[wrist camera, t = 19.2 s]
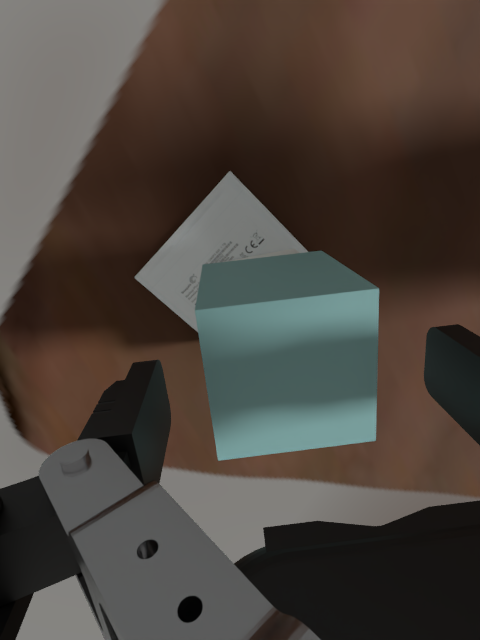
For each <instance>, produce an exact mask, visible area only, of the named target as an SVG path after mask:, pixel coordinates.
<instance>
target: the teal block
mask: <svg viewBox="0 0 480 640" xmlns="http://www.w3.org/2000/svg"><path fill="white" fill-rule="evenodd" d="M195 315H196V321H197V328H198V334H199V341H200V347H201V353H202V360H203V366H204V373H205V379H206V385H207V392H208V398H209V405H210V411H211V417H212V424H213V430H214V437H215V443H216V449H217V456H218V461H219V460H227V459H235V458H243V457H251V456H259V455H267V454H274V453H282V452H290V451H298V450H306V449H314V448H322V447H330V446H338V445H346V444H354V443H362V442H370V441H376V408H377V363H378V317H379V288H378V287H376V286H375V285H373V284H372V283H370V282H369V281H367V280H366V279H364V278H363V277H361V276H360V275H358V274H356V273H355V272H353V271H352V270H350V269H349V268H347V267H346V266H344V265H343V264H341V263H340V262H338V261H337V260H335V259H334V258H332V257H331V256H329V255H328V254H326V253H324V252H323V251H314V252H305V253H296V254H288V255H279V256H271V257H262V258H254V259H245V260H237V261H228V262H220V263H211V264H203V265H202V271H201V277H200V283H199V289H198V294H197V300H196V306H195Z"/></svg>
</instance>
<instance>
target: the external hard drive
mask: <svg viewBox="0 0 480 640" xmlns="http://www.w3.org/2000/svg"><path fill="white" fill-rule="evenodd" d="M294 248H295V249H296V250H297V251H298V252H299V253H305V252H308V251H307V250H306V249H305V248H304V247H303V246H302V245H301V244H300V243H299V242H298V241H297V239H296V238H295V237H294V236H293V235H292V234H291V233H290V232H289V231H288V230H287V229H286V228H285V227H284V226H283V225H282V224H281V223H280V222H279V221H278V220H277V219H276V218H275V217H274V216H273V215H272V214H271V213H270V211H269V210H268V209H267V208H266V207H265V206H264V205H263V204H262V203H261V202H260V201H259V200H258V199H257V198H256V197H255V196H254V195H253V194H252V193H251V192H250V191H249V190H248V189H247V188H246V187H245V186H244V185H243V184H242V183H241V182H240V180H239V179H238V178H237V177H236V176H235V175H234V174H233V173H232V172H231V171H229V172H228V173H227V174H226V175H225V177H224V178H223V179H222V180H221V181H220V182H219V183H218V184H217V186H216V187H215V188H214V189H213V190H212V191H211V192H210V194H209V195H208V196H207V197H206V198H205V199H204V200H203V201H202V203H201V204H200V205H199V206H198V207H197V208H196V209H195V210H194V211H193V213H192V214H191V215H190V216H189V217H188V218H187V219H186V220H185V221H184V222H183V223H182V225H181V226H180V227H179V228H178V229H177V230H176V231H175V232H174V234H173V235H172V236H171V237H170V238H169V239H168V240H167V241H166V243H165V244H164V245H163V246H162V247H161V248H160V249H159V250H158V251H157V253H156V254H155V255H154V256H153V257H152V258H151V259H150V260H149V261H148V262H147V264H146V265H145V266H144V267H143V268H142V269H141V270H140V271H139V272H138V273H137V275H136V276H135V277H134V278H135V279H136V280H137V281H138V282H140V283H141V284H142V285H143V286H144V287H146V288H147V289H148V290H149V291H150V292H152V293H153V294H154V295H155V296H156V297H157V298H158V299H160V300H161V301H162V302H163V303H164V304H165V305H167V306H168V307H169V308H170V309H171V310H172V311H173V312H175V313H176V314H177V315H178V316H179V317H180V318H182V319H183V320H184V321H185V322H186V323H187V324H189V325H190V326H191V327H192V328H193V329H195V330H196V331H197V332H198V328H197V321H196V315H195V306H196V300H197V294H198V289H199V283H200V277H201V271H202V265H203V264H211V263H219V262H225V261H230V260H235V259H241V258H246V257H251V256H257V255H262V254H267V253H272V252H278V251H283V250H288V249H294Z"/></svg>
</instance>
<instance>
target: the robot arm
mask: <svg viewBox="0 0 480 640" xmlns="http://www.w3.org/2000/svg"><path fill="white" fill-rule="evenodd" d="M424 381H425V385H426V388H427V390H428V392H429V394H430V395H431V396H432V397H433V399H434V400H435V401H436V402H437V403H438V404H439V405H440V406H441V407H442V408H443V409H444V410H445V411H446V412H447V413H448V414H449V415H450V416H451V417H452V418H453V419H454V420H455V421H456V422H457V423H458V424H459V425H460V426H461V427H462V428H463V429H464V430H465V431H466V432H467V433H468V434H469V435H470V436H471V437H472V438H473V439H474V440H475V441H476V442H477V443H478V444H479V445H480V337H479V336H478V335H476V334H474V333H473V332H471V331H469V330H468V329H466V328H464V327H463V326H461V325H458V324H457V325H448V326H440V327H432V328H430V329H429V331H428V333H427V339H426V353H425V368H424ZM170 426H171V411H170V404H169V399H168V394H167V389H166V384H165V379H164V374H163V369H162V365H161V362H160V361H159V360H152V361H144V362H135V363H133V364H132V366H131V368H130V370H129V372H128V375H127V377H126V379H125V380H121V381H116V382H115V383H114V384H112V385H111V386H110V387H109V388H108V389H106V390H105V391H104V393H103V394H102V396H101V398H100V400H99V402H98V404H97V405H96V407H95V409H94V411H93V414H92V415H91V416H90V418H89V420H88V422H87V424H86V426H85V427H84V429H83V431H82V433H81V435H80V437H79V438H78V440H77V441H75V442H72V443H70V444H67V445H65V446H63V447H61V448H60V449H58V450H56V451H55V452H54V453H52V454H51V455H50V456H49V457H48V458H47V459H46V460H45V461H44V462H43V464H42V465H41V467H40V470H39V476H37V477H34V478H31V479H29V480H26V481H23V482H20V483H17V484H14V485H11V486H8V487H5V488H2V489H0V640H15V639H16V637H17V634H18V632H19V629H20V626H21V624H22V622H23V619H24V617H25V614H26V611H27V608H28V606H29V604H30V601H31V599H32V596H33V593H34V592H36V591H39V590H41V589H43V588H46V587H48V586H51V585H53V584H55V583H58V582H60V581H62V580H65V579H67V578H69V577H71V576H74V575H75V576H76V578H77V580H78V582H79V585H80V587H81V589H82V591H83V593H84V596H85V598H86V600H87V602H88V604H89V606H90V608H91V611H92V613H93V615H94V617H95V620H96V622H97V624H98V626H99V628H100V630H101V632H102V635H103V637H104V639H105V640H480V501H473V502H465V503H457V504H449V505H441V506H433V507H428V508H425V509H423V510H420V511H418V512H415V513H413V514H410V515H408V516H405V517H403V518H400V519H398V520H395V521H393V522H390V523H388V524H385V525H382V526H365V525H355V524H344V523H334V522H323V521H313V522H305V523H297V524H290V525H281V526H274V527H265V528H263V529H264V537H265V547H263V548H260V549H258V550H255V551H254V552H252V553H250V554H248V555H246V556H244V557H243V558H242V559H240V560H239V561H237V562H236V563H234V564H233V563H232V561H231V560H229V558H228V557H227V556H226V555H225V554H224V553H223V552H222V551H221V550H220V549H219V548H218V546H217V545H216V544H215V543H214V542H213V541H212V540H211V539H210V538H209V537H208V536H207V535H206V534H205V532H204V531H203V530H202V529H201V528H200V527H199V526H198V525H197V524H196V523H195V522H194V521H193V519H192V518H191V517H190V516H189V515H188V514H187V513H186V512H185V511H184V510H183V509H182V508H181V507H180V506H179V505H178V503H177V502H176V501H175V500H174V499H173V498H172V497H171V496H170V495H169V494H168V493H167V491H166V490H165V489H163V488H162V486H161V485H160V484H159V482H160V477H161V472H162V467H163V462H164V457H165V452H166V447H167V442H168V437H169V432H170Z"/></svg>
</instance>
